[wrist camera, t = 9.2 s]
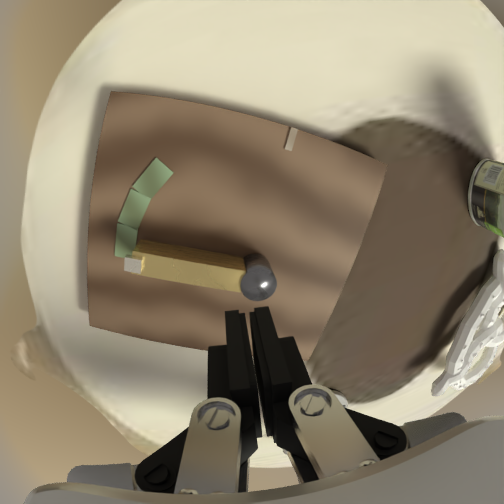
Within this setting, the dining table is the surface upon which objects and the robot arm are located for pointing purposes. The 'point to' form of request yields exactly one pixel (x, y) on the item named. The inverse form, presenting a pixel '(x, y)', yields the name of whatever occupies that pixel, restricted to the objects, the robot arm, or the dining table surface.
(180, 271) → the peg
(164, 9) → the dining table surface
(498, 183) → the coffee can
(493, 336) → the pretzel
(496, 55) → the dining table surface
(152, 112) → the tuner board
